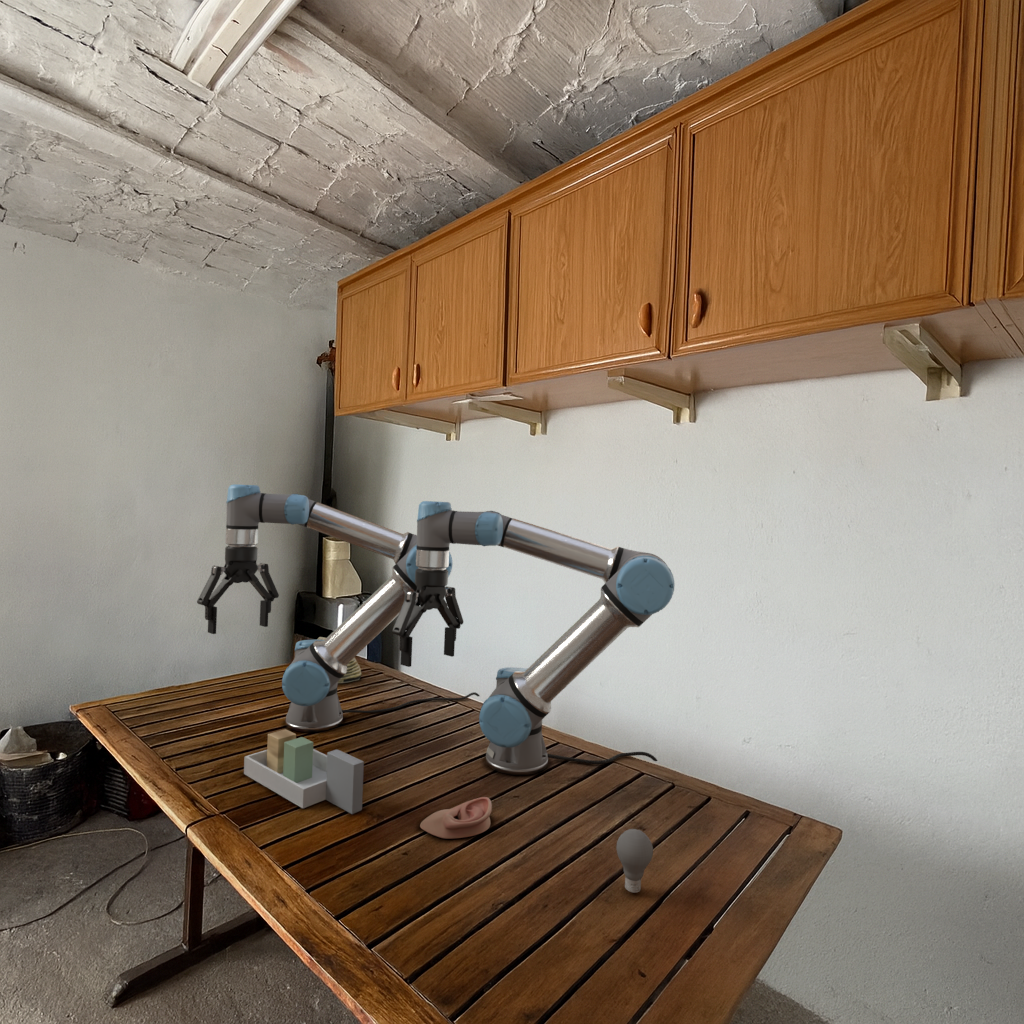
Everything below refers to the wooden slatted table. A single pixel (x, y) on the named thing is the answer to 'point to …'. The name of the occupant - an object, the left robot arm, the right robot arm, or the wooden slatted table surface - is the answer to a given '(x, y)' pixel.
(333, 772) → the tray
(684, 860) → the wooden slatted table surface
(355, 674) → the fossil
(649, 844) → the light bulb
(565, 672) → the right robot arm
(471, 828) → the anatomical model
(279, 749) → the birch block
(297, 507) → the left robot arm
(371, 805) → the wooden slatted table surface
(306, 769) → the sage block
